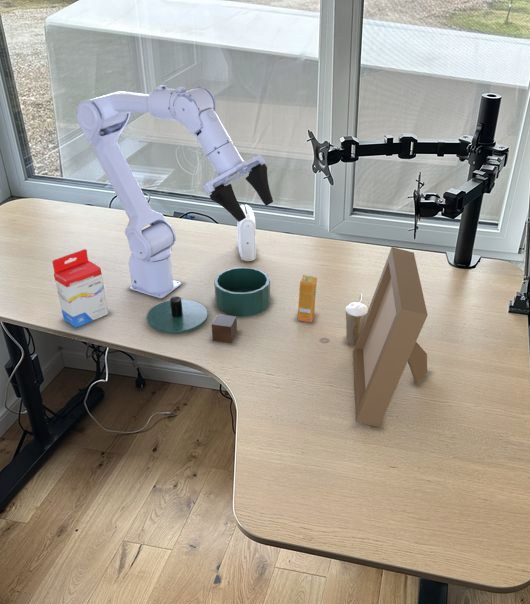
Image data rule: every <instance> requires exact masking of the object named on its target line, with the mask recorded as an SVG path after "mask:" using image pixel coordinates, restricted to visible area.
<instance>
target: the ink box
mask: <svg viewBox="0 0 530 604" xmlns="http://www.w3.org/2000/svg"><path fill="white" fill-rule="evenodd" d="M70 259H75V260H72V261H69V260H70ZM67 261H69V262H67ZM66 262H67V263H66ZM52 267H53V277H54V281H55V287H56V291H57V295H58V300H59V305H60V309H61V313H62V317H63V321H65V322H66V323H67V324H69V325H71V326H72V327H73V328H75V329H77V328H79V327H81V326H83V325H86V324H88V323H91V322H93V321H95V320H98V319H101V318H102V317H104V316H107V315H109V309H108V303H107V298H106V292H105V286H104V280H103V273H102V269H101V267H100V266H98V265H97V264H96V263H94V262H93V261H90V260H89V258H88V250H87V249H86V248H84V249H81V250H78V251H75V252H73V253H70V254H66V255H64V256H60V257H58V258H55V259H53V260H52Z"/></svg>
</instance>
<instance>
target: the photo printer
mask: <svg viewBox="0 0 530 604" xmlns="http://www.w3.org/2000/svg"><path fill="white" fill-rule="evenodd" d="M240 207H241V208H242V210H243V212H244V214H245V217H246V218H245V219H243V220H242V221H240V222H238V221H236V222H237V225H236V226H237V227H236V228H237V247H238V251H239V256H240V259H241V260H242V261H244V262H253V261H254V260H256V259H257V231H256V230H257V228H256V227H257V226H256V218H255V214H254V211H253V208H252V207H251V206H249V205H248V204H241V205H240Z"/></svg>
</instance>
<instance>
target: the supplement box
mask: <svg viewBox="0 0 530 604" xmlns="http://www.w3.org/2000/svg"><path fill="white" fill-rule="evenodd" d="M317 281H318V277H317V276H314V275H308V274H307V275H305V274H303V275H302V278H301V280H300V282H299V293H298V307H297V308H298V310H297V321H299V322H305V323H312V322H313V319H314V316H315V309H316V293H317Z"/></svg>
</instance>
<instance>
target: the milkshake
mask: <svg viewBox="0 0 530 604" xmlns="http://www.w3.org/2000/svg"><path fill="white" fill-rule="evenodd" d="M362 299H363V294H362V293H360V294H359V299H358V302H356V301H353V302H351V303H348V304H347V305H346V307H345V329H346V331H345V332H346V334H345V335H346V337H345V338H346V343H347V344H348V345H350V346H355V344H356V342H357V339H358V336H359V333H360V331H361V328H362V325H363V323H364V320H365V317H366V315H367V312H368V309H369V307H367V305H366V304H364V303H362Z"/></svg>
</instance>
